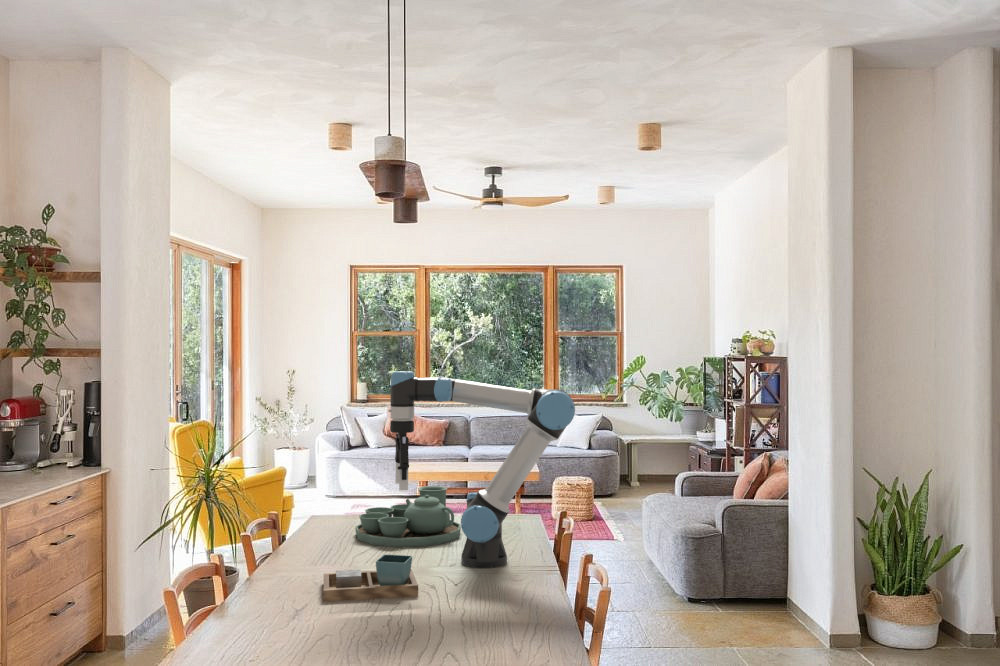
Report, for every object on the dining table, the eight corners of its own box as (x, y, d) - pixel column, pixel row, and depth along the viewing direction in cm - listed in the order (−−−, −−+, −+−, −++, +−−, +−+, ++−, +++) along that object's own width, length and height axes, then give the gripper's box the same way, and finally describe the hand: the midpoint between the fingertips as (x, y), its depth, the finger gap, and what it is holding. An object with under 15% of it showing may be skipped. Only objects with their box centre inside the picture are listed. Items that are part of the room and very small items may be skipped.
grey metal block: (360, 586, 241) (360, 569, 241) (361, 593, 235) (361, 575, 235) (335, 588, 240) (336, 570, 240) (336, 594, 233) (336, 577, 233)
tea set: (371, 523, 336) (371, 483, 336) (468, 527, 331) (468, 485, 331) (341, 546, 296) (341, 500, 297) (451, 550, 292) (451, 503, 292)
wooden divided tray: (411, 582, 250) (411, 568, 250) (418, 599, 232) (418, 585, 232) (323, 586, 245) (323, 573, 245) (323, 605, 227) (323, 590, 227)
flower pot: (412, 586, 242) (412, 555, 243) (404, 594, 234) (405, 562, 234) (383, 584, 244) (383, 554, 244) (374, 593, 235) (375, 561, 235)
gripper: (387, 416, 275) (386, 480, 274) (393, 423, 250) (392, 493, 250) (409, 416, 276) (409, 480, 276) (418, 422, 252) (417, 492, 251)
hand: (401, 486), depth 263 cm, fingers open, 13 cm apart
